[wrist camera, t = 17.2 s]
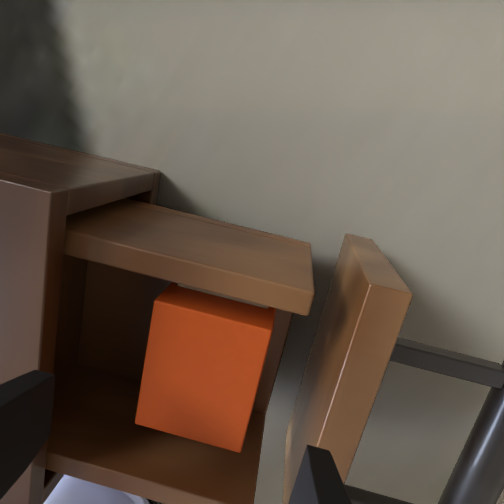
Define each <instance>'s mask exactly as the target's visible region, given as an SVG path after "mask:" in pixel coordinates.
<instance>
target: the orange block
mask: <svg viewBox="0 0 504 504" xmlns="http://www.w3.org/2000/svg"><path fill="white" fill-rule="evenodd" d="M275 313H276V308H273V307H269V306H265V305H261V304H257V303H253V302H249V301H245V300H242V299H238V298H234V297H230V296H226V295H222V294H218V293H214V292H210V291H206V290H202V289H199V288H195V287H191V286H187V285H183V284H179V283H175V282H172V283H171V284H170V285H169V286H168V287H167V288H166V289H165V290H164V291H163V292H162V293H161V294H160V295H159V296H158V297H157V298H156V299H155V301H154V305H153V311H152V318H151V324H150V330H149V336H148V343H147V349H146V355H145V361H144V368H143V374H142V380H141V386H140V393H139V399H138V405H137V411H136V418H135V424H138V425H142V426H145V427H149V428H152V429H156V430H159V431H163V432H167V433H170V434H174V435H177V436H181V437H184V438H188V439H192V440H195V441H199V442H202V443H206V444H210V445H213V446H217V447H220V448H224V449H227V450H231V451H235V452H238V453H240V452H241V451H242V447H243V443H244V439H245V435H246V432H247V428H248V424H249V420H250V416H251V412H252V409H253V405H254V401H255V397H256V393H257V389H258V386H259V382H260V378H261V374H262V370H263V367H264V363H265V359H266V355H267V351H268V347H269V344H270V340H271V336H272V332H273V326H274V320H275Z"/></svg>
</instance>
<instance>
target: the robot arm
mask: <svg viewBox="0 0 504 504" xmlns="http://www.w3.org/2000/svg"><path fill="white" fill-rule="evenodd" d="M55 377H56V375H53V374H50V373H46V372H42V371H39V370H33V371H30V372H28V373H26V374H23V375H21V376H18V377H16V378H14V379H12V380H9V381H7V382H5V383H3V384H0V500H1V499H2V497H3V496H4V495H5V494H6V493H7V492H8V490H9V489H10V488H11V487H12V486H13V485H14V483H15V482H16V481H17V480H18V479H19V478H20V476H21V475H22V474H23V473H24V472H25V470H26V469H27V468H28V466H29V465H30V464H31V462H32V461H33V459H34V458H35V457H36V455H37V454H38V452H39V451H40V449H41V448H42V446H43V445H44V443H45V442H46V440H47V439H48V437H49V436H50V434H51V423H52V411H53V400H54V388H55ZM43 504H149V502H148V500H147V499H146V498H143V497H140V496H136V495H133V494H129V493H126V492H122V491H119V490H116V489H112V488H109V487H105V486H102V485H98V484H95V483H92V482H88V481H85V480H81V479H78V478H74V477H71V476H68V475H64V476H63V477H62V479H61V480H60V481H59V483H58V484H57V485H56V487H55V488H54V490H53V491H52V492H51V494H50V495H49V497H48V498H47V499H46V501H45V502H44V503H43ZM288 504H352V502H351V500H350V498H349V495H348V493H347V491H346V488H345V486H344V484H343V481H342V479H341V476H340V474H339V472H338V469H337V467H336V464H335V461H334V459H333V456H332V454H331V452H330V451H329V450H326V449H322V448H319V447H315V446H311V445H308V444H307V446H306V449H305V452H304V455H303V459H302V462H301V465H300V468H299V471H298V474H297V477H296V481H295V484H294V487H293V490H292V493H291V496H290V499H289V503H288Z"/></svg>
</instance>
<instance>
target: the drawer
mask: <svg viewBox="0 0 504 504" xmlns="http://www.w3.org/2000/svg"><path fill="white" fill-rule="evenodd" d="M172 282H175V283H179V284H183V285H187V286H191V287H195V288H199V289H202V290H206V291H210V292H214V293H218V294H222V295H226V296H230V297H234V298H238V299H242V300H245V301H249V302H253V303H257V304H261V305H265V306H269V307H273V308H276V313H275V320H274V326H273V332H272V336H271V340H270V344H269V347H268V351H267V355H266V359H265V363H264V367H263V370H262V374H261V378H260V382H259V386H258V389H257V393H256V397H255V401H254V405H253V409H252V412H251V416H250V420H249V424H248V428H247V432H246V435H245V439H244V443H243V447H242V451H241V452H240V453H238V452H235V451H231V450H227V449H224V448H220V447H217V446H213V445H210V444H206V443H202V442H199V441H195V440H192V439H188V438H184V437H181V436H177V435H174V434H170V433H167V432H163V431H159V430H156V429H152V428H149V427H145V426H142V425H138V424H135V418H136V411H137V405H138V399H139V393H140V386H141V380H142V374H143V368H144V361H145V355H146V349H147V343H148V336H149V330H150V324H151V318H152V311H153V305H154V301H155V299H156V298H157V297H158V296H159V295H160V294H161V293H162V292H163V291H164V290H165V289H166V288H167V287H168V286H169V285H170V284H171V283H172ZM314 295H315V292H314V280H313V268H312V255H311V244H310V243H308V242H303V241H299V240H295V239H291V238H287V237H283V236H279V235H275V234H271V233H267V232H263V231H258V230H254V229H250V228H246V227H242V226H238V225H234V224H230V223H226V222H222V221H218V220H213V219H209V218H205V217H201V216H197V215H193V214H189V213H185V212H181V211H177V210H173V209H168V208H164V207H160V206H156V205H152V204H148V203H144V202H140V201H136V200H132V199H128V198H124V199H120V200H117V201H114V202H110V203H107V204H104V205H100V206H97V207H94V208H90V209H87V210H84V211H80V212H77V213H74V214H71V215H67V216H66V228H65V240H64V252H63V264H62V275H61V287H60V299H59V311H58V323H57V335H56V347H55V359H54V371H53V375H56V377H55V388H54V400H53V411H52V423H51V434H50V436H49V437H48V442H47V454H46V466H45V469H47V470H50V471H54V472H57V473H61V474H64V475H68V476H71V477H74V478H78V479H81V480H85V481H88V482H92V483H95V484H98V485H102V486H105V487H109V488H112V489H116V490H119V491H122V492H126V493H129V494H133V495H136V496H140V497H143V498H146V499H150V500H153V501H157V502H160V503H164V504H254V496H255V489H256V482H257V475H258V467H259V460H260V453H261V445H262V438H263V431H264V423H265V415H266V412H267V408H268V404H269V401H270V397H271V393H272V390H273V386H274V382H275V379H276V375H277V371H278V368H279V364H280V361H281V357H282V353H283V350H284V346H285V342H286V339H287V335H288V331H289V328H290V324H291V320H292V317H293V313H296V314H300V315H304V316H308V314H309V312H310V309H311V305H312V302H313V298H314ZM412 297H413V294H412V292H411V291H410V290H409V288H408V287H407V286H406V284H405V283H404V281H403V280H402V279H401V277H400V276H399V275H398V273H397V272H396V271H395V269H394V268H393V267H392V265H391V264H390V263H389V261H388V260H387V258H386V257H385V256H384V254H383V253H382V252H381V250H380V249H379V248H378V246H377V245H376V244H375V242H374V241H373V240H371V239H367V238H363V237H359V236H355V235H351V234H346V235H345V237H344V241H343V244H342V247H341V251H340V254H339V257H338V261H337V264H336V268H335V271H334V274H333V278H332V281H331V284H330V288H329V291H328V294H327V298H326V301H325V305H324V308H323V311H322V315H321V318H320V321H319V325H318V328H317V331H316V335H315V338H314V342H313V345H312V348H311V352H310V355H309V358H308V362H307V365H306V368H305V372H304V375H303V378H302V382H301V385H300V389H299V392H298V395H297V399H296V402H295V405H294V409H293V412H292V415H291V419H290V422H289V426H288V429H287V436H286V454H285V472H284V490H283V504H288V503H289V499H290V496H291V493H292V490H293V487H294V484H295V481H296V477H297V474H298V471H299V468H300V465H301V462H302V459H303V455H304V452H305V449H306V446H307V444H308V445H311V446H315V447H319V448H322V449H326V450H329V451H330V452H331V454H332V456H333V459H334V461H335V464H336V467H337V469H338V472H339V474H340V476H341V479H342V481H343V484H344V483H345V480H346V478H347V475H348V472H349V469H350V467H351V464H352V461H353V458H354V456H355V453H356V450H357V447H358V445H359V442H360V439H361V437H362V434H363V431H364V428H365V426H366V423H367V420H368V417H369V415H370V412H371V409H372V407H373V404H374V401H375V398H376V396H377V393H378V390H379V387H380V385H381V382H382V379H383V376H384V374H385V371H386V368H387V366H388V363H389V360H390V361H394V362H398V363H402V364H405V365H409V366H413V367H417V368H421V369H425V370H429V371H432V372H436V373H440V374H444V375H448V376H452V377H456V378H459V379H463V380H467V381H471V382H475V383H479V384H483V385H486V386H490V387H491V389H490V391H489V394H488V396H487V398H486V400H485V402H484V404H483V407H482V409H481V411H480V413H479V415H478V417H477V419H476V422H475V424H474V426H473V428H472V430H471V432H470V435H469V437H468V439H467V441H466V443H465V445H464V448H463V450H462V452H461V454H460V456H459V458H458V461H457V463H456V465H455V467H454V469H453V471H452V474H451V476H450V478H449V480H448V482H447V484H446V487H445V489H444V491H443V493H442V495H441V497H440V500H439V502H438V504H496V503H497V501H498V499H499V497H500V495H501V493H502V491H503V489H504V361H503V363H502V365H501V364H499V363H495V362H492V361H488V360H484V359H480V358H476V357H472V356H468V355H464V354H460V353H456V352H452V351H448V350H445V349H441V348H437V347H433V346H429V345H425V344H421V343H417V342H413V341H409V340H405V339H402V338H398V335H399V333H400V330H401V327H402V325H403V322H404V319H405V316H406V314H407V311H408V308H409V305H410V303H411V300H412ZM344 486H345V488H346V491H347V493H348V495H349V498H350V500H351V502H352V504H412V503H409V502H405V501H402V500H398V499H395V498H391V497H387V496H384V495H380V494H377V493H373V492H370V491H366V490H362V489H359V488H355V487H352V486H348V485H345V484H344Z"/></svg>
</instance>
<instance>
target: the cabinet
mask: <svg viewBox="0 0 504 504" xmlns="http://www.w3.org/2000/svg"><path fill="white" fill-rule="evenodd" d="M160 174H161V172H160V171H157V170H153V169H149V168H145V167H141V166H137V165H132V164H128V163H124V162H120V161H116V160H111V159H107V158H103V157H99V156H95V155H90V154H86V153H82V152H78V151H74V150H70V149H65V148H61V147H57V146H53V145H49V144H44V143H40V142H36V141H32V140H28V139H23V138H19V137H15V136H11V135H7V134H3V133H0V384H3V383H5V382H7V381H9V380H12V379H14V378H16V377H18V376H21V375H23V374H26V373H28V372H30V371H33V370H39V371H42V372H46V373H50V374H53V371H54V359H55V347H56V335H57V323H58V311H59V299H60V287H61V275H62V264H63V252H64V240H65V228H66V216H67V215H71V214H74V213H77V212H80V211H84V210H87V209H90V208H94V207H97V206H100V205H104V204H107V203H110V202H114V201H117V200H120V199H124V198H128V199H132V200H136V201H140V202H144V203H148V204H152V205H156V201H157V194H158V187H159V181H160ZM47 442H48V439H47V440H46V442H45V443H44V445H43V446H42V448H41V449H40V451H39V452H38V454H37V455H36V457H35V458H34V459H33V461H32V462H31V464H30V465H29V466H28V468H27V469H26V470H25V472H24V473H23V474H22V475H21V476H20V478H19V479H18V480H17V481H16V482H15V483H14V485H13V486H12V487H11V488H10V489H9V490H8V492H7V493H6V494H5V495H4V496H3V497H2V499H1V500H0V504H43V503H44V502H45V501H46V499H47V498H48V497H49V495H50V494H51V492H52V491H53V490H54V488H55V487H56V485H57V484H58V483H59V481H60V480H61V479H62V477H63V476H64V474H61V473H57V472H54V471H50V470H47V469H45V466H46V454H47Z"/></svg>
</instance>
